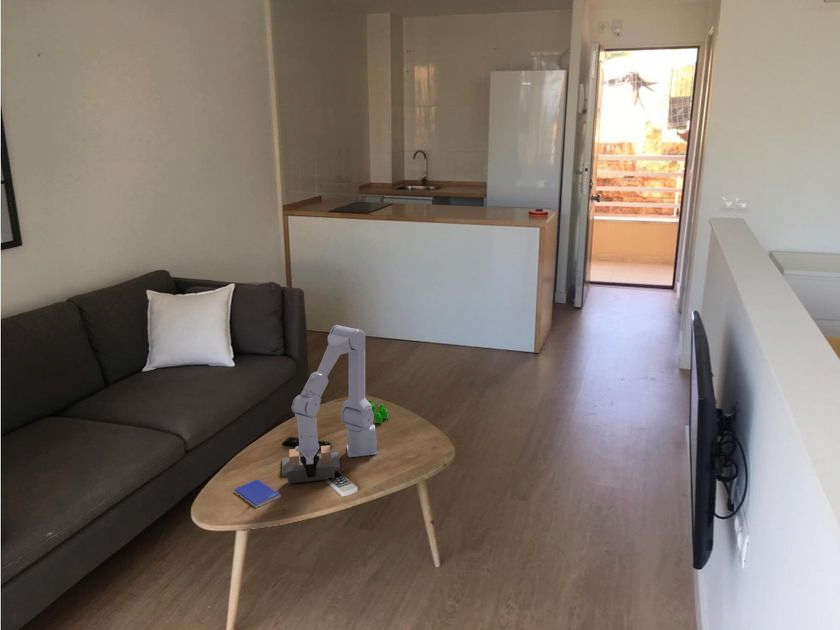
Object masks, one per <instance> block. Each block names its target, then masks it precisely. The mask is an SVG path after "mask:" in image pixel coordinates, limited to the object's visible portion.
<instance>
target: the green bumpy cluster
mask: <svg viewBox="0 0 840 630" xmlns="http://www.w3.org/2000/svg"><path fill="white" fill-rule="evenodd" d="M367 401H368V402H369V403H370V404H371V405H372V411H373V414H374V421H375V424H379V425H381V424H382V423H383V420H388V419H389V418H390V415H391V412H390V411H389V410H388V409H387V406H386V404H383V403H380V404H378V406H377V407H375V404H374V402H373V401H372V400H367ZM386 418H387V419H386Z"/></svg>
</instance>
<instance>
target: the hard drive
mask: <svg viewBox="0 0 840 630" xmlns="http://www.w3.org/2000/svg"><path fill="white" fill-rule="evenodd" d="M234 494H236V495H238V496H239V495H240V496H239V497H241V498H242V499H243V498H244V501H246V502H247V501H248V503H249V504H250V505H252V507H254V508H256V509H257V508H259V506H260V507H261V506H264V505H266V504H268V503H270V502H272V501H275V500H277V499H279V498H281V493H279V492H277V491H276V490H274V489H273V488H272V487H270V486H269V485H267V484H266V483H264V482H263V481H261V480H260V479H254V480H253V481H250V482H248V483H245V484H242V485H241V486H238V487H236V488H235V489H234Z"/></svg>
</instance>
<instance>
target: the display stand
mask: <svg viewBox="0 0 840 630" xmlns="http://www.w3.org/2000/svg"><path fill="white" fill-rule="evenodd" d="M331 448H332V447H331V445H321V446H320V453H318V454H317V456H319V461H318V463H326V462H334V471H340V470H341V464H340V463H341V462H340V455H339V451H335V452H332V451H331ZM288 455H289V456H288V457H282V460H281V461H282V463H281V465H282V466H281V467H282V468H281V476H282V477H285V476H286V475H287V467H290V466H299V465H303V464H302V463H301V461H300V457H301V456H302V455H300V451H296V448H293V449H291V448H289V451H288ZM287 476H288V475H287Z"/></svg>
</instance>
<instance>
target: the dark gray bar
mask: <svg viewBox="0 0 840 630" xmlns="http://www.w3.org/2000/svg"><path fill="white" fill-rule="evenodd" d="M335 475H336V474H335V470H334V462H326V463H317V466H316V474H315V477H311V478H308V476H307V473H306V470H305V467H304V465H299V466H290V467H287V483H288V484H298V483H306V482H312V481H323V480H328V479H327V478H332V479H336V476H335Z"/></svg>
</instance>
